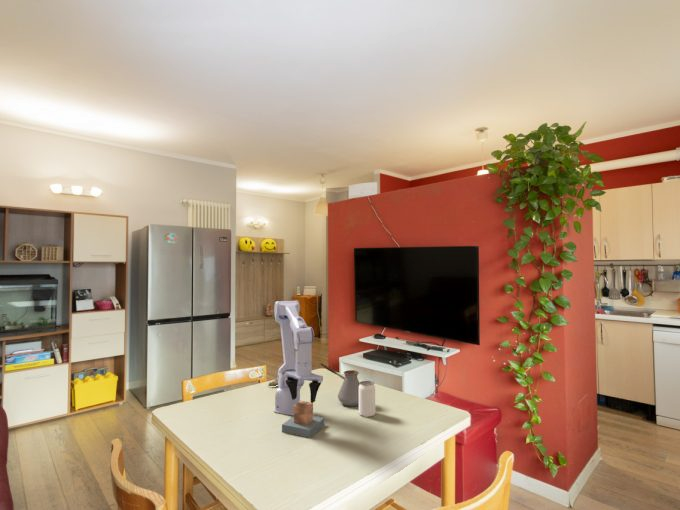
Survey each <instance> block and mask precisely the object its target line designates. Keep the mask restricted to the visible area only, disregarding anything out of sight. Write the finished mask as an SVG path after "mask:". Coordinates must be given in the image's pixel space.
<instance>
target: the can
mask: <svg viewBox="0 0 680 510" xmlns="http://www.w3.org/2000/svg"><path fill="white" fill-rule="evenodd" d="M359 383H360V385H359V405H358V414H359V416H361V417H364V418H370V417H374V416H375V415H376V386H375V382H374V381H373V380H372V381H371V380H361V381H359Z"/></svg>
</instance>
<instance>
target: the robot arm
mask: <svg viewBox="0 0 680 510" xmlns="http://www.w3.org/2000/svg"><path fill="white" fill-rule="evenodd" d="M300 310H301V306H300V302H299V300H296V299H295V300H281V301H278V300H277V301H275V302H274V305H273V311H274V312H273V313H274V319H275V323H277V324H278V325H279V327H280V337H281V345H282V346H281V347H282V356H283V364H282V365H281V366H280V367H279V368H278V370H277V379H278V386H279V387H277V389H276V391H275V396H274V398H275V399H274V400H275V401H274V406H275V408H274V410H273V411H274V413H276V414H282V415H287V416H289V415H290V416H294V405H295V404H297V403H298V402H300V401H301V390H302V387H303V386H304V384H305V381H310V383H308V386H309V392H310V402H311V403H313V404H314V403H315V402H316V397H317V394H318V392H319V391H318V390H319V388H320V386H321V384H322V383H323V382H324V376H323V375H320V374H317V373H312V372H313V371H312V361H313V359H312V358H313V357H312V356H313V355H312V354H313V353H312V349H313V348H312V346H313V345H312V344H314V342H315V332H314V329H313V327H311V326H308V325H307V323H306V321H305V320H304V318H303V317H302V316H300V312H301V311H300Z"/></svg>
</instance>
